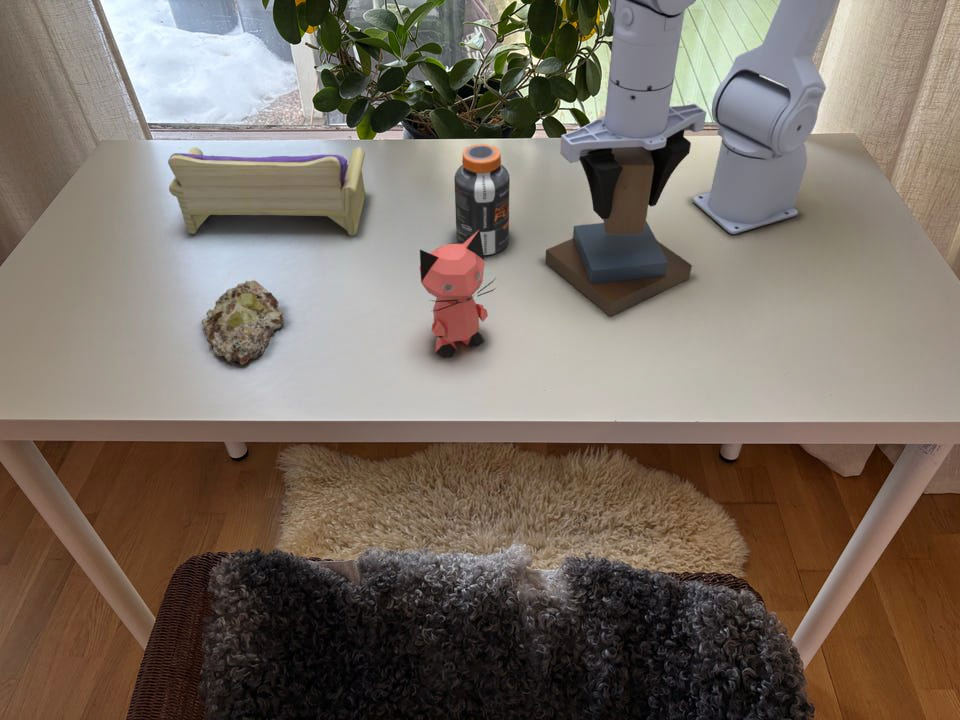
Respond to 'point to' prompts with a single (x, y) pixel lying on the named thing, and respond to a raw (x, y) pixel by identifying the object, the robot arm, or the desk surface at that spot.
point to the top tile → (618, 254)
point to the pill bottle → (482, 198)
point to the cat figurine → (455, 292)
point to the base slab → (618, 292)
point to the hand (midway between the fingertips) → (624, 207)
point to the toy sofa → (269, 186)
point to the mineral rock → (242, 322)
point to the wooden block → (631, 191)
